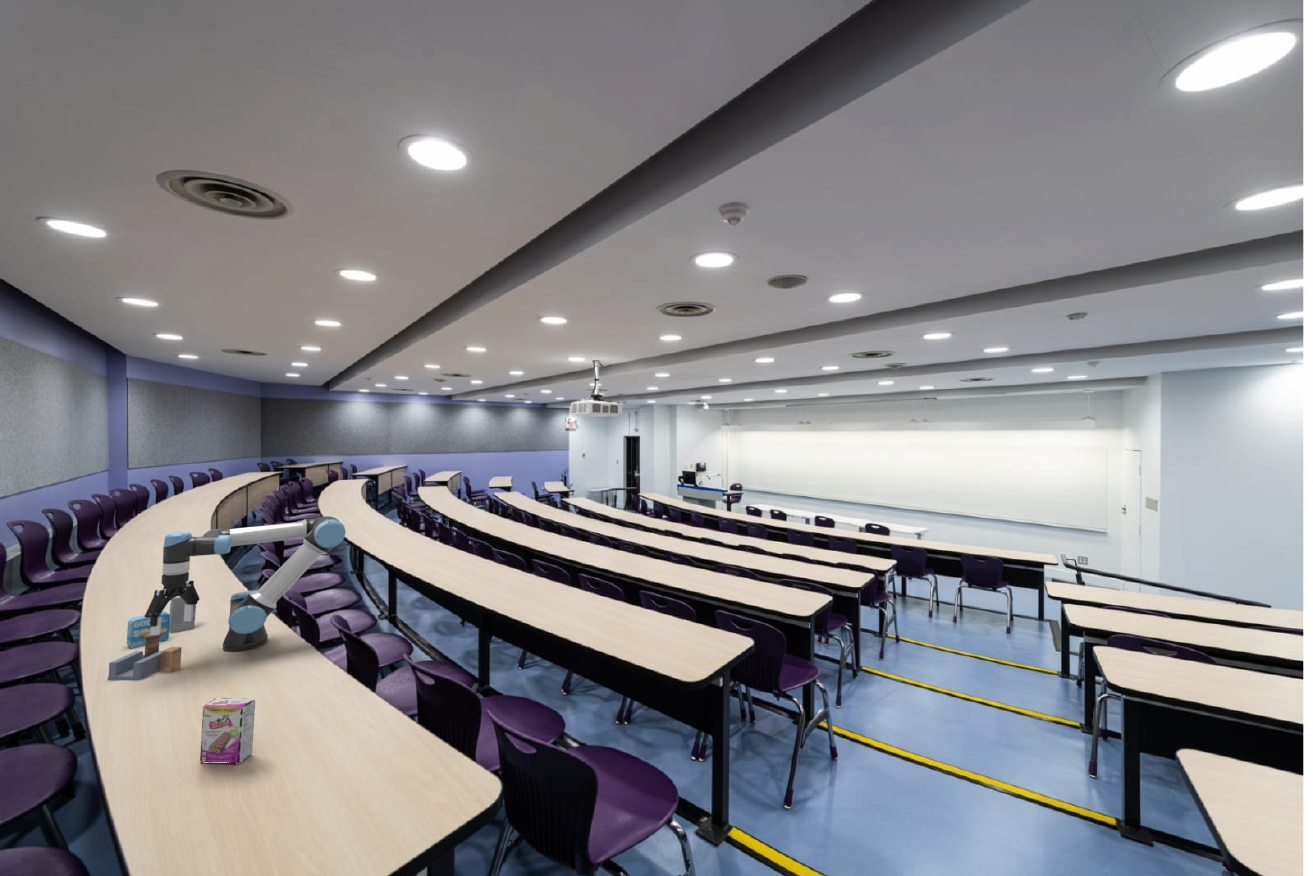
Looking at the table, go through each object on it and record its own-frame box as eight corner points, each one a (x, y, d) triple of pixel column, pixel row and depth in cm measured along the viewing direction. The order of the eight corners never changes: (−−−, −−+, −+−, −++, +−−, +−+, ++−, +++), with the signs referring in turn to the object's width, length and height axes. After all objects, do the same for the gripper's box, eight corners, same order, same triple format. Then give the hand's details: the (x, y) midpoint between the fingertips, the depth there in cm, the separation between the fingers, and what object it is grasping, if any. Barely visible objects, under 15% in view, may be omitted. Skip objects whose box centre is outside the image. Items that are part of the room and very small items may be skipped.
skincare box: (170, 633, 219) (172, 598, 219) (167, 629, 223) (169, 595, 223) (195, 628, 226) (197, 594, 226) (192, 624, 230) (194, 591, 230)
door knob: (173, 654, 199) (175, 627, 200) (152, 664, 190) (154, 636, 191) (150, 654, 199) (151, 627, 199) (128, 664, 190) (129, 636, 190)
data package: (129, 649, 202) (131, 620, 202) (126, 646, 204) (128, 618, 205) (168, 640, 212) (170, 612, 213) (165, 637, 215) (167, 610, 215)
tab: (180, 667, 189) (181, 647, 189) (170, 672, 185) (172, 651, 185) (169, 667, 189) (170, 647, 189) (159, 672, 185) (161, 651, 185)
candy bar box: (198, 764, 135) (201, 706, 136) (213, 753, 140) (217, 696, 141) (238, 765, 136) (242, 707, 136) (253, 754, 141) (256, 697, 141)
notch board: (165, 667, 188) (166, 651, 188) (139, 679, 178) (140, 663, 179) (135, 667, 188) (136, 651, 188) (108, 679, 178) (109, 662, 178)
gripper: (194, 564, 199) (190, 615, 199) (132, 581, 175) (129, 640, 174) (213, 565, 200) (210, 616, 200) (154, 582, 175) (151, 640, 175)
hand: (172, 627), depth 187 cm, fingers open, 13 cm apart
